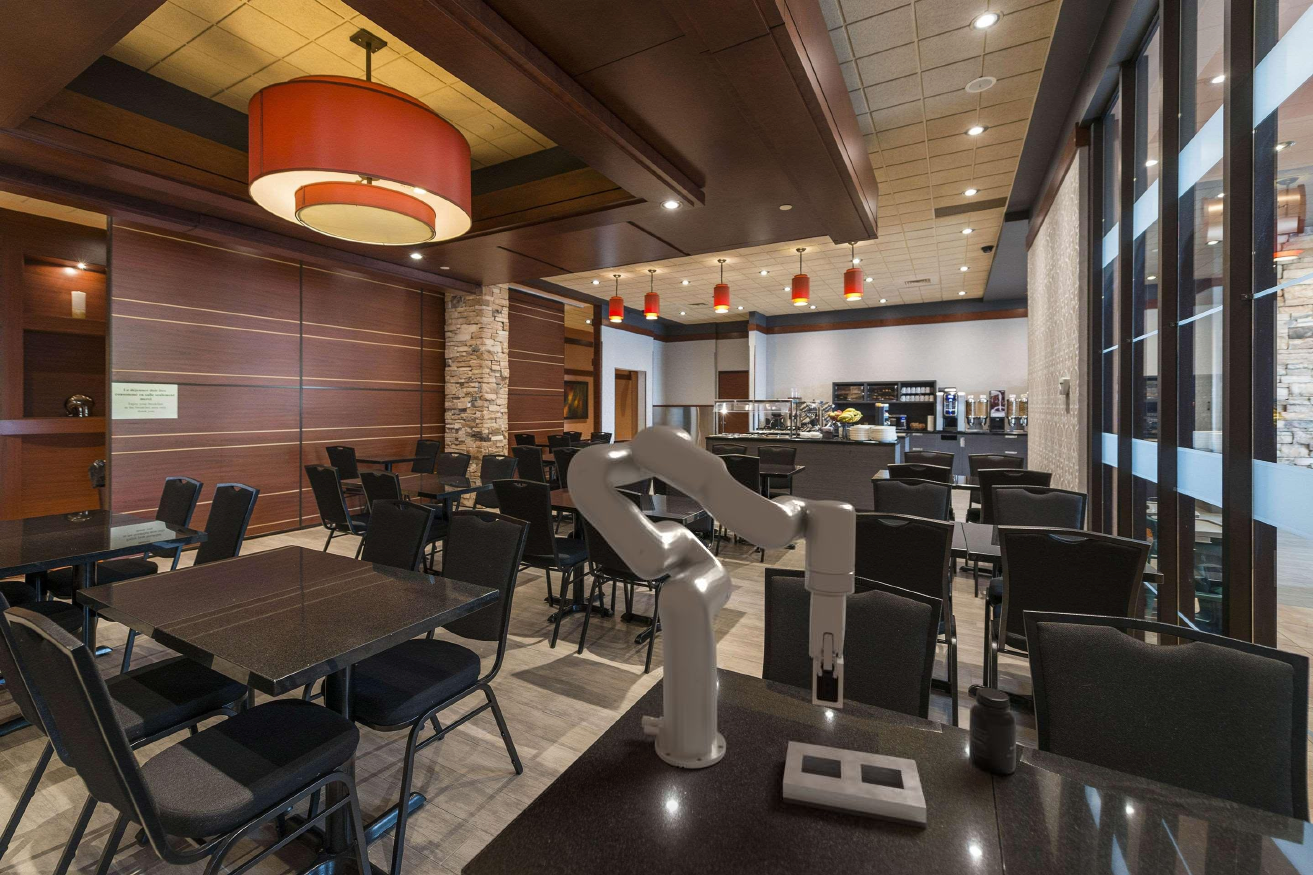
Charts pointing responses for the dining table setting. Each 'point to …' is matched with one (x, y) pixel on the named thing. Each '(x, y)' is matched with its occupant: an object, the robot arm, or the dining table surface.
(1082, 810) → the dining table surface
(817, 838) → the dining table surface
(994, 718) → the supplement bottle
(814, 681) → the plug
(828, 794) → the socket board
